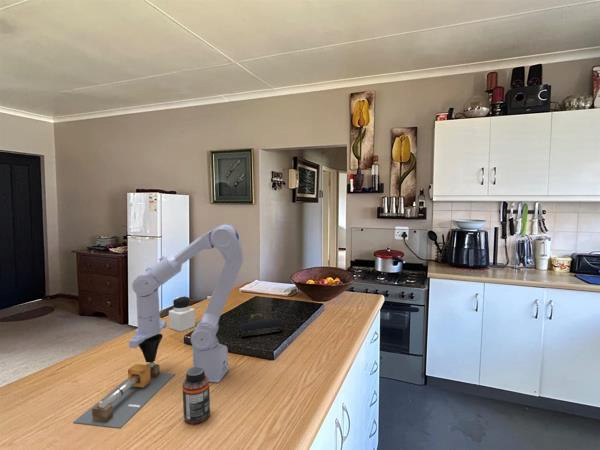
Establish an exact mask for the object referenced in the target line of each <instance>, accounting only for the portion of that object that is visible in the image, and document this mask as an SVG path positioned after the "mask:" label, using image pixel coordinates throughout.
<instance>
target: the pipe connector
mask: <svg viewBox="0 0 600 450" xmlns="http://www.w3.org/2000/svg"><path fill="white" fill-rule="evenodd" d="M250 321H251V322H250ZM281 321H282V320H281V318H272V319H264V318H263V315H262V314H261V313H256V314H250V320H249V322H244V323H243V322H242V323H240V324H239V329H240V328H241V331H248V330H256V329H262V328H263V329H264V328H271V327H277V326H282V322H281Z"/></svg>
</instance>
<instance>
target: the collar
mask: <svg viewBox="0 0 600 450" xmlns="http://www.w3.org/2000/svg"><path fill="white" fill-rule="evenodd" d="M127 374H128V375H127V376H128V378H127V379H128V380H130V379H131V378H132V377H133V376H135V375H136V374H140V380H139V381H138V382H137V383H136V384H134V385H133V386H134V387H145V386H146V385H147V384H148V383H149V382H150V381H151V380H150V365H147V364H142V363H141V364H138V363H135V364H133V365H132V366H131V367H129V368H128V369H127Z"/></svg>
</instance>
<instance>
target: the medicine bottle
mask: <svg viewBox="0 0 600 450" xmlns="http://www.w3.org/2000/svg"><path fill="white" fill-rule="evenodd" d="M190 301H191V300H190V297H188V296H183V295H182V296H177V297H175V298H174V299H173V300H172V304H173V308H172V309H170V310H168V323H169V324H168V327H169V329H171V330H175V331H177V332H180V333H182V332H185V331H186V330H189V329H192V328H194V327H196V313H195V312H196V309H195V308H191V307H190V306H191V303H190Z"/></svg>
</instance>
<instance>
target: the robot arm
mask: <svg viewBox="0 0 600 450" xmlns="http://www.w3.org/2000/svg"><path fill="white" fill-rule="evenodd" d="M242 246H243V245H242V243H241V236H240V234H239V232H238V230H237V229H236V227H235V226H233V225H232V224H230V223H223V224H220V225H219V226H217V227H215V228H213V229H212V230H209V231H208V232H205V233H204V234H202V235H200V236H199V237H198V238H196V239H195V240H194V241H192V242H191V243H190V244H188V245H187V246H186V247H184V248H183V249H182V250H180V251H179V252H178V253H177V254H176V255H170V254H169V255H166V256H165V255H163V256H161V257H160V258H159V259H158V260H159V261H157V263H155V264H154V265H152V266H150V267H149V266H148V267H147V268H146V269H145V272H143V273H142V274H140V275H137V276H136V278H135V279H134V280H133V282H132V285H131V286H132V290H133V292H134V293H135V294H136V295H135V296H136V317H137V318H136V319H137V328H136V329H134V333H135V334H133V335H134V336H133V337H132V338H131V339H129V340H128V346H129V349H130V348H131V349H136V348H138V347H139V348H140V351H141V352H142V354H143V357H144V360H145V363H148V364H149V363H153V362H154V363H155V361H156V359H157V354H158V349H159V345H160V343H161V341H162V339H163V334H162V333H161V332H162V330H163V329H166V328H167V327H168V325H167V324H168V323H167V320H160V318H161V317H160V297H159V288H160V286H162V285H164V284H166V283H167V282H168V281H169V280H171V279H172V278H173V277H175V276H176V275H178V274H179V273H181V271H182V266H183V264H184V263H186V262H188V261H189V260H190V259H192V258H193V257H195V256H196V255H197V254H199V253H201V252H202V251H203V250H212V249H214V248H215V249H216V250H218V251H219V252H220V254H221V255H222V257H223V260H224V261H225V263H224V265H223V268H222V270H221V272H220V274H219V277H218V280H217V282H216V285H215V287H214V289H213V292H212V295H211V297H210V299H209V301H208V304H207V306H206V309H205V312H204V313H203V316H202V318H201V319H199V320H198V322H197V325H196V326H195V329H194V331H192V333H191V335H190V343H191V345H192V367H203V368H204V373H205V375H206V376H207V377H208V379H209V383H217V384H218V383H220V382H221V381H222V379H223V378H224V376H225V375H226V373H228V371H229V370H230V367H229V356H228V355H229V352H228V350H229V349H228V346H227V345H225V344H221V343H219V339H218V337H217V336H216V334H217V333H218V332H219V331H218V330H219V328H220V326H219V320H220V318H221V316H222V313H223V311H224V308H225V306H226V304H227V301H228V298H229V296H230V294H231V291H232V289H233V286H234V284H235V282H236V279H237V276H238V274H239V271H240V269H241V267H242V265H243V263H244V259H245V257H244V252H243V251H244V250H243V247H242Z"/></svg>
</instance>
